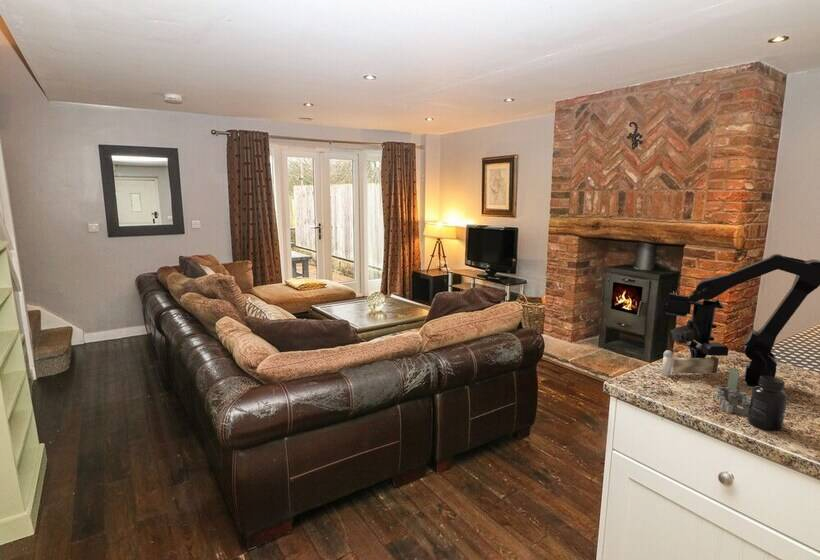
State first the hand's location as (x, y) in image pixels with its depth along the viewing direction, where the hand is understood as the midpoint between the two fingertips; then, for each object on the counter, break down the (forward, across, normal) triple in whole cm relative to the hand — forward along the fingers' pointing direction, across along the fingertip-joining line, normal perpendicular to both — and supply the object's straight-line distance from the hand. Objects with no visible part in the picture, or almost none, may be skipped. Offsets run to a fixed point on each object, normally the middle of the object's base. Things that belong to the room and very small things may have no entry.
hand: (695, 366), depth 146 cm
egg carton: (+2, +24, -5) cm, 25 cm away
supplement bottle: (+1, +34, -5) cm, 35 cm away
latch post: (+1, +12, +3) cm, 13 cm away
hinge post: (+2, +3, -11) cm, 11 cm away
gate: (+1, +3, -2) cm, 4 cm away
